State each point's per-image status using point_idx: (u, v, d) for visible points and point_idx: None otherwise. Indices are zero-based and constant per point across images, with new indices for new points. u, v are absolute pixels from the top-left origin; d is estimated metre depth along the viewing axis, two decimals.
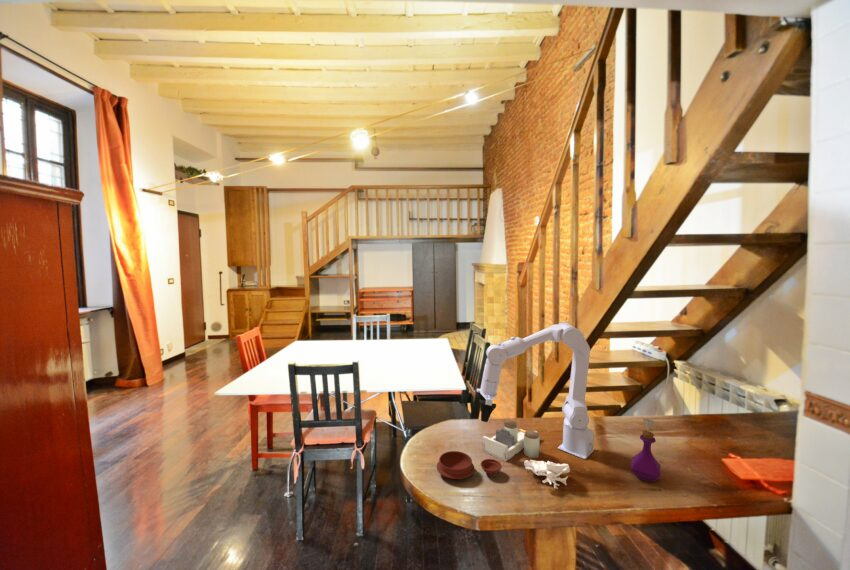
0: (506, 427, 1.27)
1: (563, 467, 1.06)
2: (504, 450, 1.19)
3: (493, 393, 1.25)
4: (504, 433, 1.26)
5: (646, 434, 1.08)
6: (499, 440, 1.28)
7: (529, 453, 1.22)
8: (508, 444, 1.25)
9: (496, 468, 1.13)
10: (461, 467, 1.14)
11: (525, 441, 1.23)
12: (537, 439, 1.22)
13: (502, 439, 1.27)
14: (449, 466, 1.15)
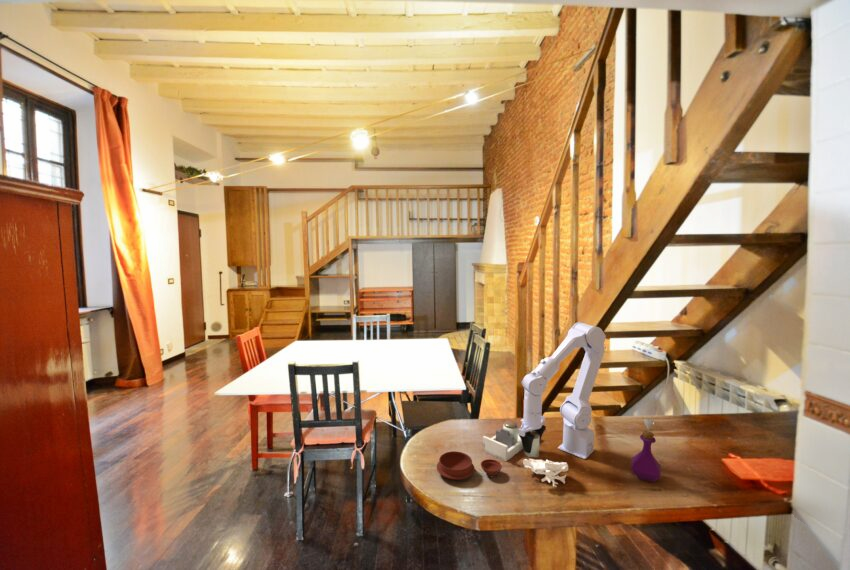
0: (506, 427, 1.27)
1: (562, 465, 1.07)
2: (504, 450, 1.19)
3: (532, 425, 1.20)
4: (504, 433, 1.26)
5: (646, 434, 1.08)
6: (499, 440, 1.28)
7: (529, 453, 1.22)
8: (508, 444, 1.25)
9: (496, 468, 1.13)
10: (461, 467, 1.14)
11: None
12: (537, 439, 1.22)
13: (502, 439, 1.27)
14: (449, 466, 1.15)
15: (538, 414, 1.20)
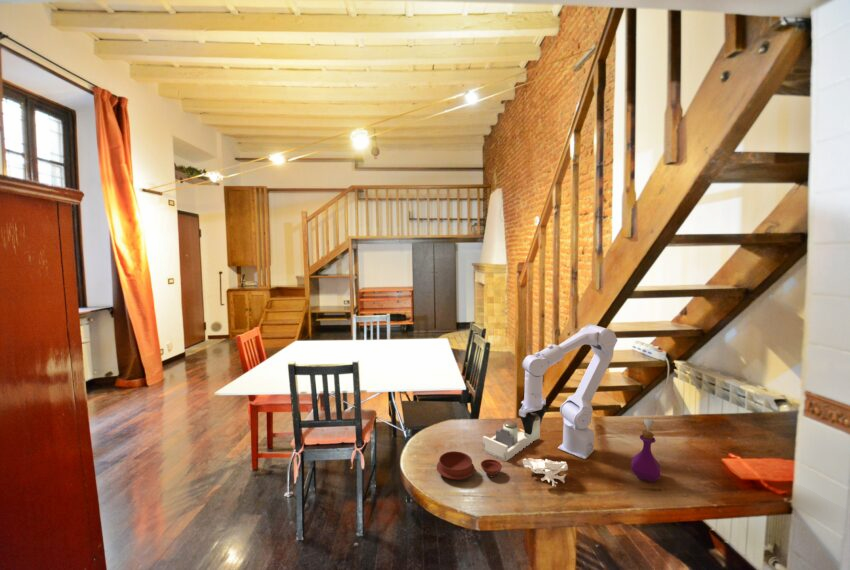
0: (506, 427, 1.27)
1: (561, 465, 1.07)
2: (504, 450, 1.19)
3: (533, 406, 1.20)
4: (504, 433, 1.26)
5: (646, 434, 1.08)
6: (499, 440, 1.28)
7: (530, 435, 1.21)
8: (508, 444, 1.25)
9: (496, 468, 1.13)
10: (461, 467, 1.14)
11: None
12: (538, 421, 1.21)
13: (502, 439, 1.27)
14: (449, 466, 1.15)
15: (539, 395, 1.20)
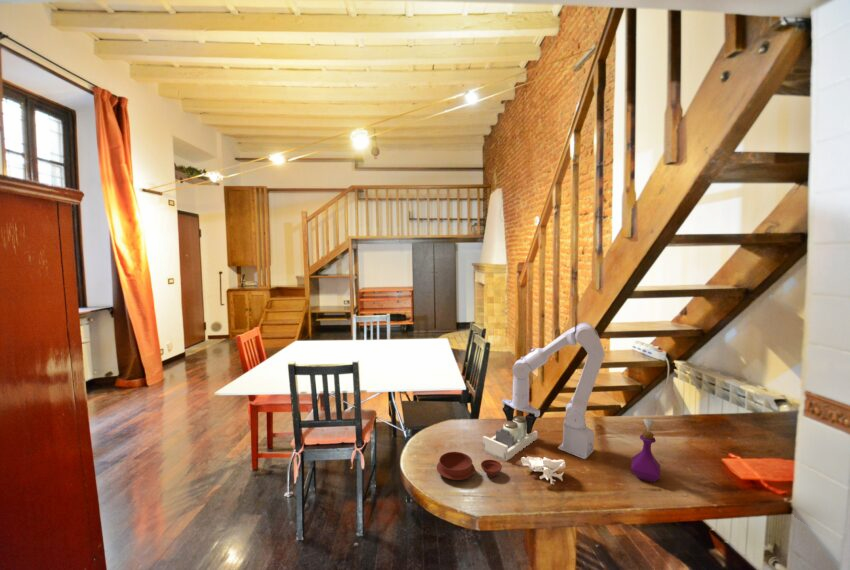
0: (506, 427, 1.27)
1: (559, 463, 1.08)
2: (504, 450, 1.19)
3: (512, 402, 1.33)
4: (504, 433, 1.26)
5: (646, 434, 1.08)
6: (499, 440, 1.28)
7: None
8: (508, 444, 1.25)
9: (496, 469, 1.13)
10: (461, 468, 1.14)
11: None
12: None
13: (502, 439, 1.27)
14: (449, 467, 1.14)
15: (514, 395, 1.31)
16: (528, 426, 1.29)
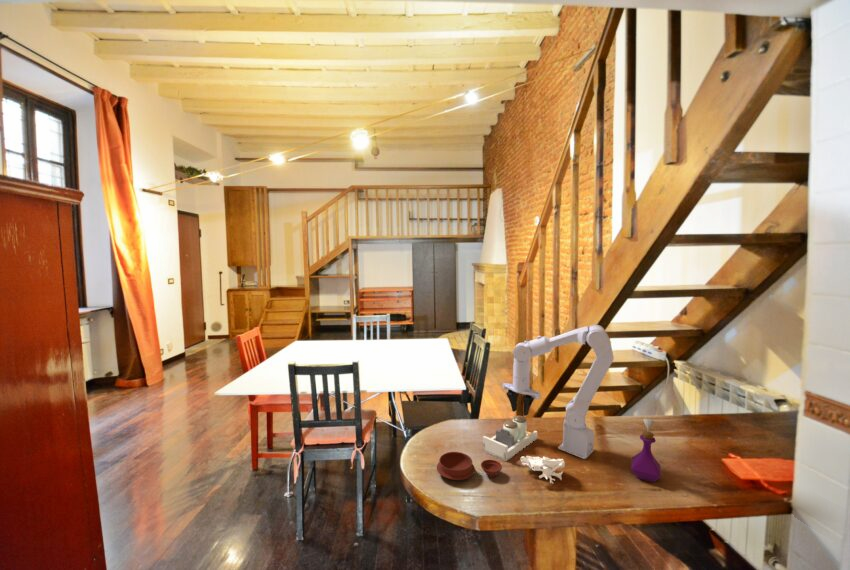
0: (506, 427, 1.27)
1: (558, 462, 1.09)
2: (504, 450, 1.19)
3: (512, 386, 1.33)
4: (504, 433, 1.26)
5: (646, 434, 1.08)
6: (499, 440, 1.28)
7: None
8: (508, 444, 1.25)
9: (496, 469, 1.13)
10: (461, 468, 1.14)
11: None
12: None
13: (502, 439, 1.27)
14: (449, 467, 1.14)
15: (514, 378, 1.31)
16: (525, 408, 1.30)
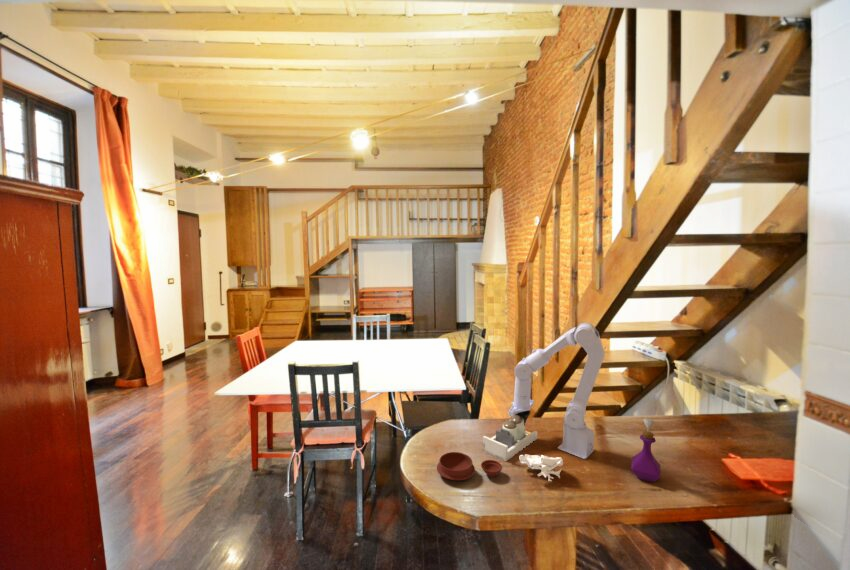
0: (505, 427, 1.27)
1: (557, 460, 1.10)
2: (504, 450, 1.19)
3: (522, 407, 1.31)
4: (504, 433, 1.26)
5: (646, 434, 1.08)
6: (499, 440, 1.28)
7: None
8: (508, 444, 1.25)
9: (496, 469, 1.12)
10: (461, 468, 1.14)
11: None
12: None
13: (502, 439, 1.27)
14: (449, 467, 1.14)
15: (527, 397, 1.31)
16: (525, 422, 1.34)
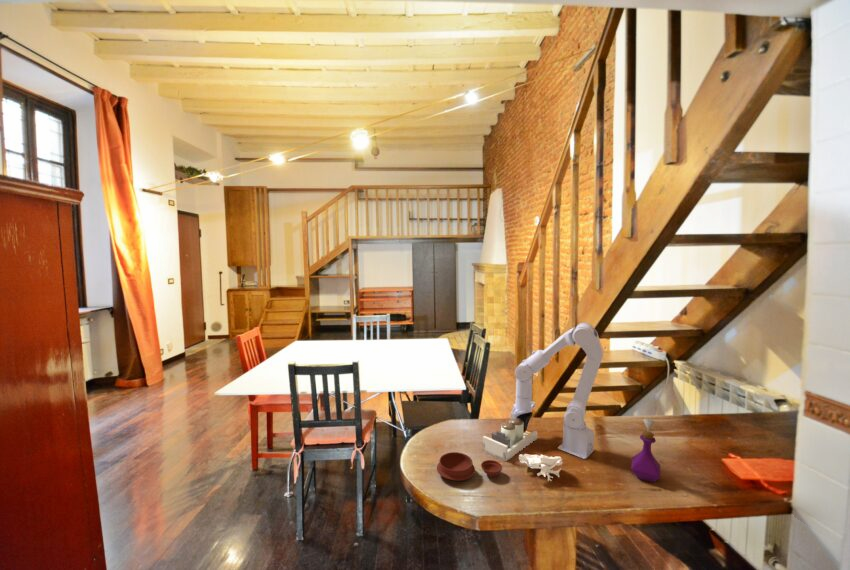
0: (504, 428, 1.26)
1: (556, 460, 1.10)
2: (504, 450, 1.19)
3: (523, 409, 1.31)
4: (500, 436, 1.24)
5: (646, 434, 1.08)
6: None
7: None
8: None
9: (497, 469, 1.12)
10: (461, 468, 1.14)
11: None
12: None
13: (498, 441, 1.25)
14: (449, 467, 1.14)
15: (528, 399, 1.31)
16: (527, 423, 1.34)
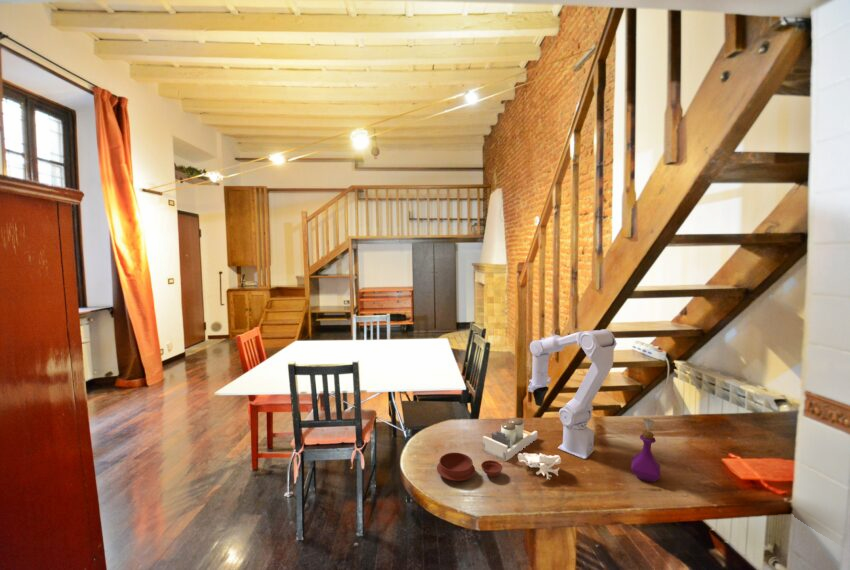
0: (504, 428, 1.26)
1: (555, 458, 1.11)
2: (504, 450, 1.19)
3: (540, 383, 1.37)
4: (500, 436, 1.24)
5: (646, 434, 1.08)
6: None
7: None
8: None
9: (497, 469, 1.12)
10: (461, 469, 1.14)
11: None
12: None
13: (498, 441, 1.25)
14: (449, 468, 1.14)
15: (545, 373, 1.37)
16: (544, 397, 1.40)
